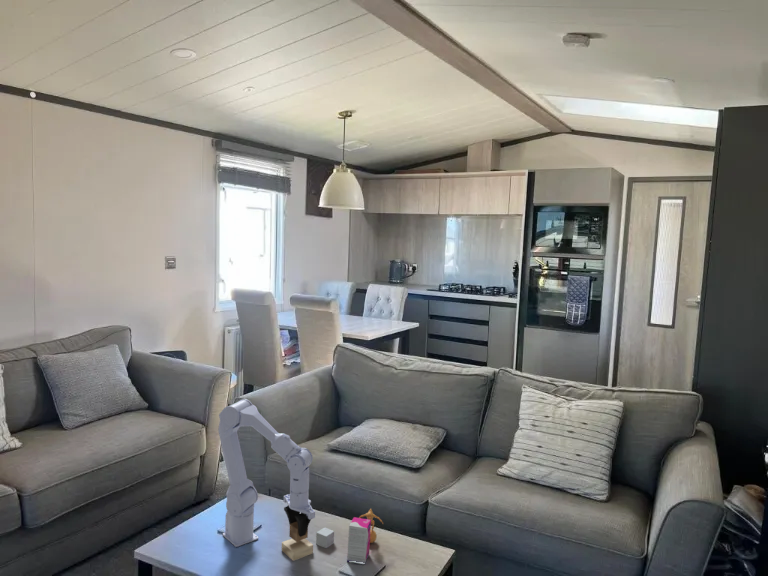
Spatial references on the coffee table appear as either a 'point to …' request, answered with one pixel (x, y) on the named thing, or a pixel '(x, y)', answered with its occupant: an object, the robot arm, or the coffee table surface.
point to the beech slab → (297, 548)
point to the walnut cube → (296, 532)
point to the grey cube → (325, 537)
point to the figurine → (370, 517)
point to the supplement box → (359, 540)
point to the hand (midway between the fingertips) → (298, 532)
